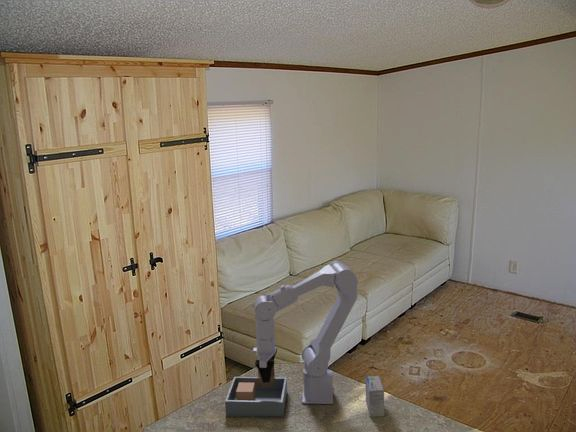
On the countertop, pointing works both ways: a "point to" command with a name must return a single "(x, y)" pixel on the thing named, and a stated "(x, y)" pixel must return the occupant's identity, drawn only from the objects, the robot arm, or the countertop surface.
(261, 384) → the walnut cylinder
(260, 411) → the slate tote
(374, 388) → the medicine box
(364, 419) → the countertop surface
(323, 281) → the robot arm
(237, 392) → the terracotta cube
